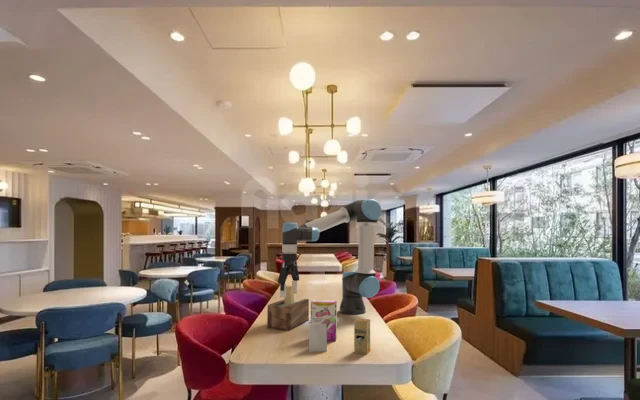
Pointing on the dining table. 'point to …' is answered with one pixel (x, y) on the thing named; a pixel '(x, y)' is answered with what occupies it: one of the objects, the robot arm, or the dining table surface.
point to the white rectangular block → (317, 337)
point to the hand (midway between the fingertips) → (288, 295)
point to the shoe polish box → (362, 336)
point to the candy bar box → (325, 316)
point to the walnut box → (287, 315)
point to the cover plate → (289, 296)
